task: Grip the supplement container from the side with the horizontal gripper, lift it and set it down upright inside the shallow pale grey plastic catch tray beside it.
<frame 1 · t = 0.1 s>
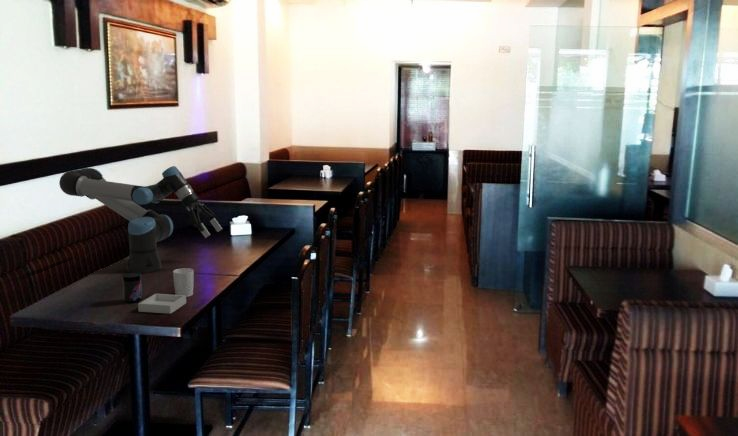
hand: (214, 233, 291), 15 cm above the table, tool tilted 35°, fingers open, 13 cm apart
catch tray: (162, 307, 233), on the table
white cup: (184, 295, 248), on the table
supplement container: (133, 301, 240), on the table
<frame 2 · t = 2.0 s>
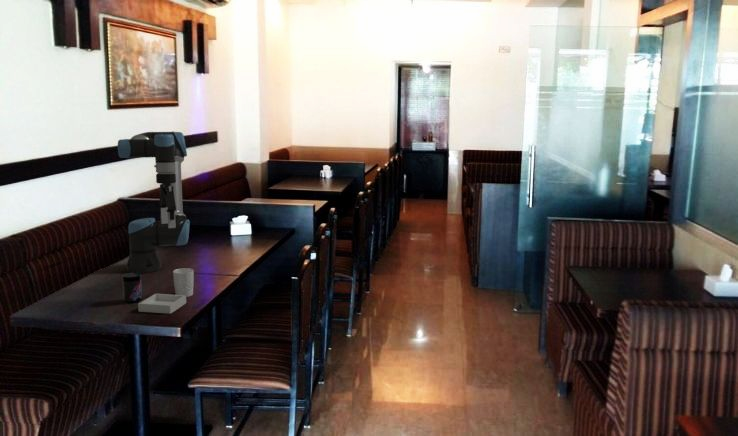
hand: (168, 225, 251), 27 cm above the table, tool pointing down, fingers open, 13 cm apart
nothing on the table moved.
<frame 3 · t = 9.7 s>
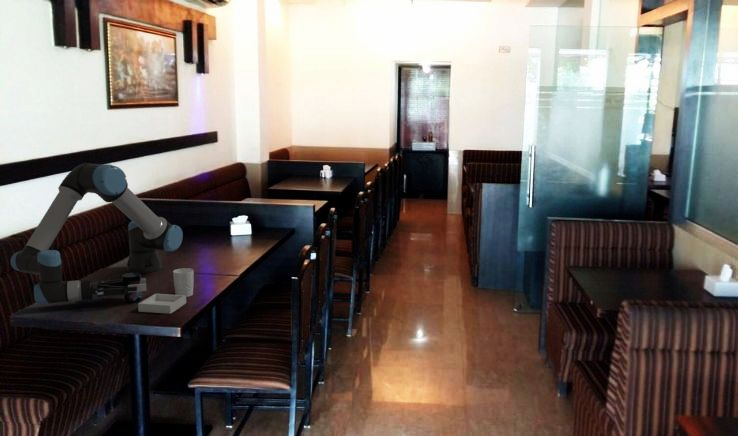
hand: (146, 284, 241), 6 cm above the table, tool horizontal, fingers closed on supplement container, 7 cm apart
supplement container: (133, 301, 240), on the table, touching gripper
everything else where it was.
when the fingers open (8 cm above the table, at t = 15.0 s): supplement container drops 1 cm, resting on catch tray.
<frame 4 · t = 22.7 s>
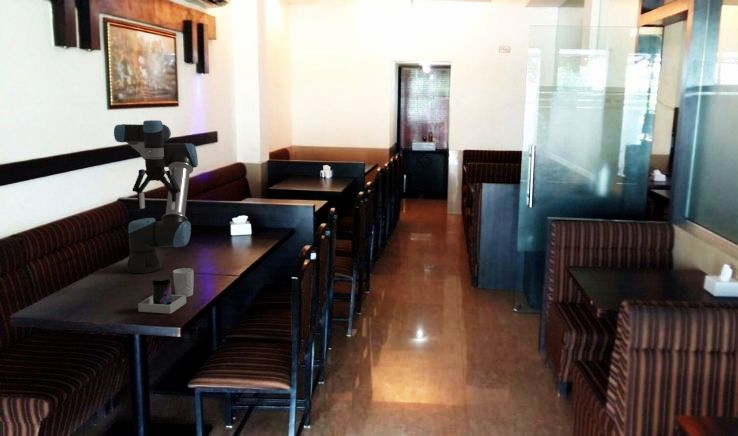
hand: (157, 209, 260), 32 cm above the table, tool pointing down, fingers open, 13 cm apart
supplement container: (162, 305, 233), point 1 cm above the table, touching catch tray
everything else where it was.
at the end: supplement container inside the target area on the catch tray (0.1 cm from its centre), point 0.6 cm above the catch tray's base; supplement container tilted 1°; the gripper is holding nothing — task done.
